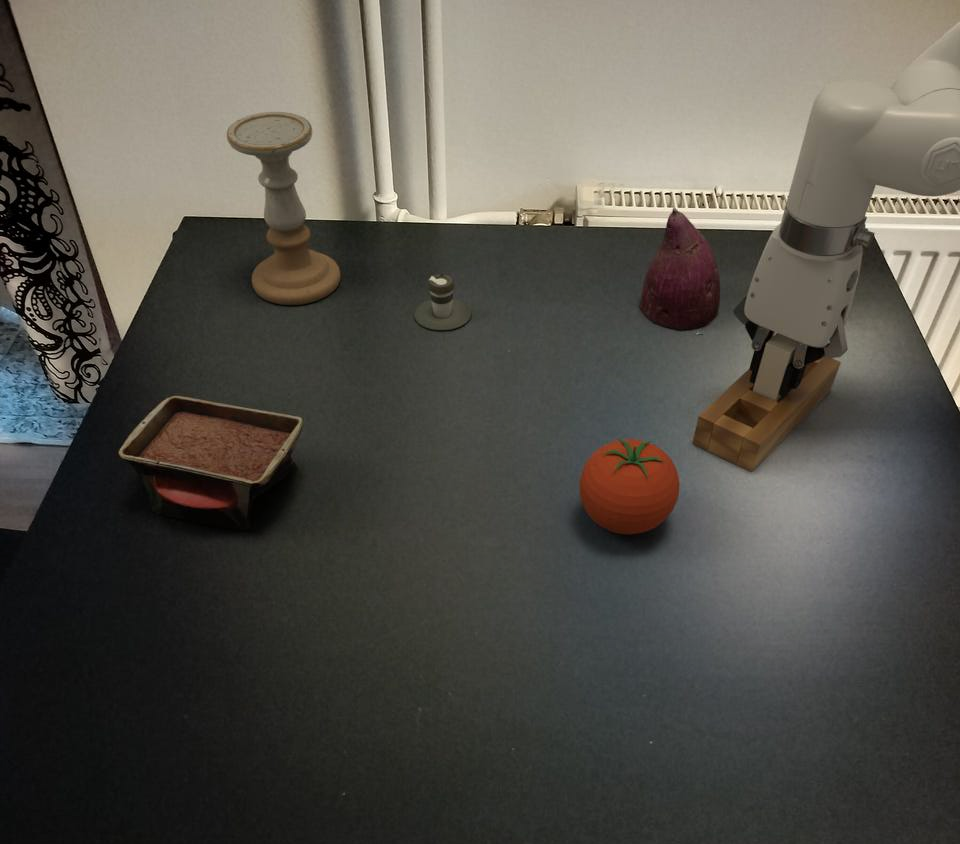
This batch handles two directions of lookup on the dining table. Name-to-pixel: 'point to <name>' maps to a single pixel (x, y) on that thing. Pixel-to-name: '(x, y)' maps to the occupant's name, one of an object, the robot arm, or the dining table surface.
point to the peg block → (760, 416)
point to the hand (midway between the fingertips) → (772, 382)
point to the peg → (774, 366)
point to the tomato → (629, 486)
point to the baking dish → (210, 458)
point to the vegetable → (682, 278)
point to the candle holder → (283, 211)
